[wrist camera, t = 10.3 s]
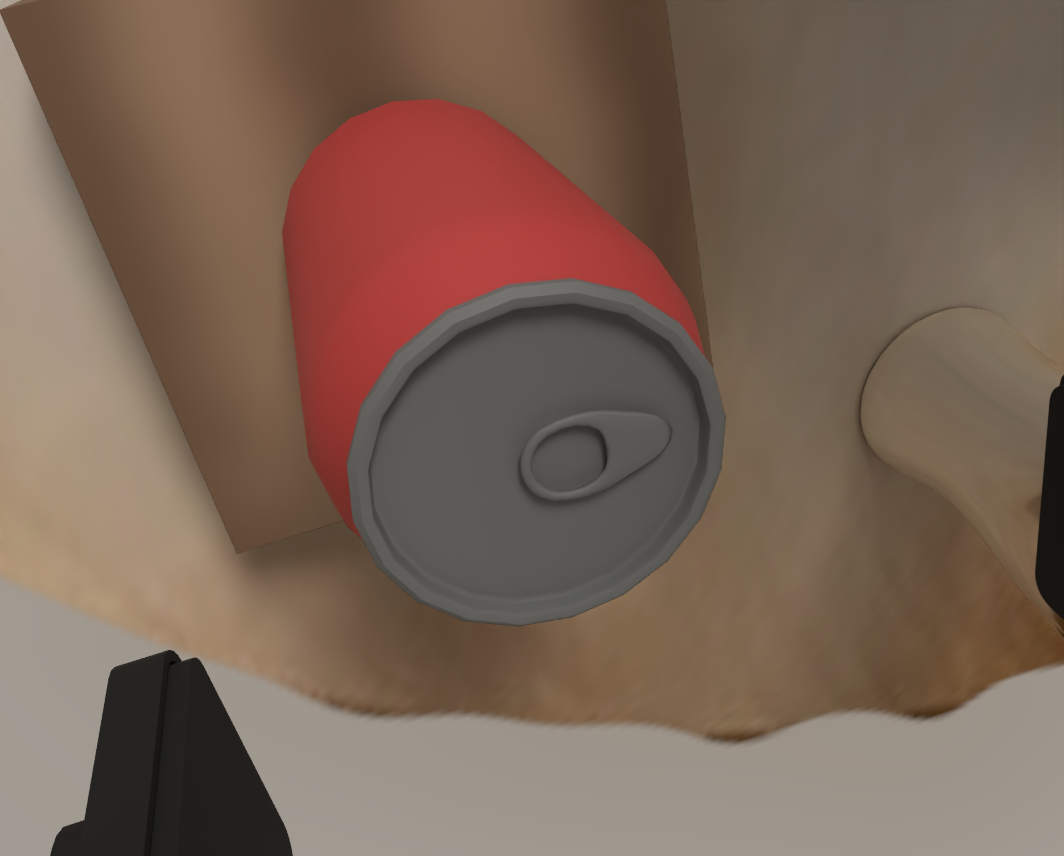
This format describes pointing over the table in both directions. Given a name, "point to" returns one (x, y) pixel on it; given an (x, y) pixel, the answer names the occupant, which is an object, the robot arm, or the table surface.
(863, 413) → the beer glass
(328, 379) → the beer can
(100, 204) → the walnut base
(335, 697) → the table surface
